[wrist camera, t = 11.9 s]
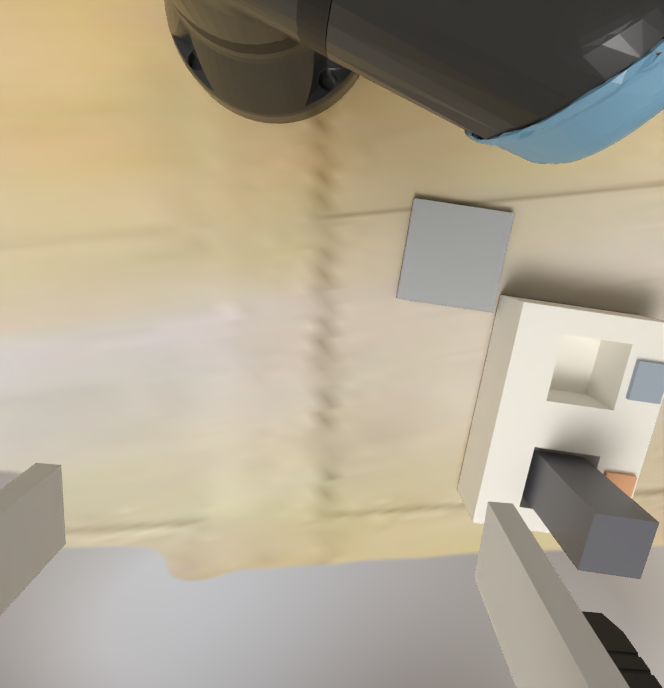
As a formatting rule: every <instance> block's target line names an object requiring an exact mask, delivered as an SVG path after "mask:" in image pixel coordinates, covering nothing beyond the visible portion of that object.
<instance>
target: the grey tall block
mask: <svg viewBox="0 0 664 688" xmlns="http://www.w3.org/2000/svg"><path fill="white" fill-rule="evenodd" d="M523 496H524V497H525V499H526V500H527V501H528V503H529V504H530V506H531V507H532V508H533V510H534V511H535V512H536V514H537V515H538V516H539V518H540V519H541V520H542V522H543V523H544V525H545V526H546V527H547V529H548V530H549V531H550V533H551V534H552V535H553V537H554V538H555V540H556V541H557V542H558V544H559V545H560V546H561V548H562V549H563V550H564V552H565V553H566V554H567V556H568V557H569V559H570V560H571V561H572V563H573V564H574V565H575V567H576V568H577V569H578V570H581V571H588V572H595V573H602V574H609V575H616V576H623V577H630V578H636V579H640V578H641V575H642V572H643V569H644V566H645V564H646V561H647V557H648V555H649V552H650V549H651V546H652V543H653V540H654V537H655V534H656V531H657V528H658V525H659V522H658V521H657V520H656V519H654V518H653V517H652V516H651V515H650V514H649V513H647V512H646V511H645V510H644V509H643V508H642V507H641V506H639V505H638V504H637V503H636V502H635V501H634V500H632V499H631V498H630V497H629V496H628V495H627V494H626V493H624V492H623V491H622V490H621V489H620V488H619V487H617V486H616V485H615V484H614V483H613V482H612V481H611V480H609V479H608V478H607V477H606V476H605V475H604V474H602V473H601V472H600V471H599V470H598V469H597V468H595V467H594V466H593V465H592V464H591V463H590V462H589V461H587V460H586V459H585V458H584V457H580V456H574V455H573V454H572V453H570V452H566V451H559V450H552V449H545V448H538V447H535V448H534V451H533V455H532V459H531V463H530V467H529V471H528V475H527V479H526V483H525V487H524V491H523Z"/></svg>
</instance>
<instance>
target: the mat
mask: <svg viewBox="0 0 664 688" xmlns="http://www.w3.org/2000/svg"><path fill="white" fill-rule="evenodd" d="M514 214H515V213H510V212H504V211H497V210H491V209H484V208H477V207H471V206H464V205H457V204H451V203H444V202H437V201H431V200H424V199H417V198H414V199H413V204H412V210H411V216H410V222H409V227H408V233H407V239H406V245H405V250H404V256H403V262H402V268H401V273H400V279H399V285H398V290H397V296H396V298H397V299H403V300H410V301H417V302H424V303H430V304H437V305H444V306H451V307H458V308H464V309H471V310H478V311H485V312H492V313H493V310H494V305H495V301H496V296H497V292H498V287H499V283H500V278H501V273H502V269H503V264H504V260H505V255H506V251H507V246H508V242H509V237H510V233H511V228H512V223H513V219H514Z"/></svg>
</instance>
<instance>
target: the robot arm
mask: <svg viewBox="0 0 664 688" xmlns="http://www.w3.org/2000/svg"><path fill="white" fill-rule="evenodd" d="M164 1H165V10H166V16H167V21H168V25H169V29H170V32H171V35H172V38H173V40H174V43H175V45H176V48H177V50H178V52H179V54H180V56H181V58H182V60H183V62H184V63H185V65H186V66H187V68H188V69H189V71H190V72H191V73H192V75H193V76H194V77H195V79H196V80H197V81H198V82H199V83H200V84H201V86H202V87H203V88H204V89H205V90H206V91H207V92H208V93H209V94H210V95H211V96H212V97H213V98H214V99H215V100H216V101H217V102H219V103H220V104H221V105H223V106H224V107H226V108H227V109H229V110H230V111H232V112H234V113H236V114H238V115H240V116H242V117H245V118H248V119H251V120H255V121H259V122H264V123H290V122H296V121H300V120H304V119H307V118H310V117H312V116H315V115H317V114H319V113H321V112H322V111H324V110H326V109H327V108H329V107H330V106H332V105H333V104H334V103H336V102H337V101H338V100H339V99H340V98H341V97H342V96H343V95H345V93H346V92H347V91H348V90H349V89H350V88H351V87H352V85H353V84H354V83H355V81H356V80H357V78H358V77H359V75H361V76H362V77H364V78H366V79H368V80H370V81H372V82H374V83H376V84H378V85H380V86H382V87H384V88H386V89H388V90H389V91H391V92H393V93H395V94H397V95H399V96H401V97H403V98H405V99H407V100H409V101H411V102H413V103H414V104H416V105H418V106H420V107H422V108H424V109H426V110H428V111H430V112H432V113H434V114H436V115H438V116H440V117H441V118H443V119H445V120H447V121H449V122H451V123H453V124H455V125H457V126H459V127H461V128H463V129H465V134H466V135H467V136H468V137H469V138H471V139H472V140H474V141H476V142H478V143H482V144H483V143H484V144H488V145H496V146H498V147H500V148H502V149H504V150H507V151H509V152H511V153H513V154H515V155H517V156H520V157H522V158H524V159H526V160H528V161H531V162H534V163H539V164H547V163H550V164H559V163H569V162H573V161H576V160H580V159H582V158H585V157H588V156H590V155H593V154H595V153H597V152H599V151H601V150H603V149H605V148H607V147H609V146H611V145H613V144H614V143H616V142H618V141H619V140H621V139H623V138H624V137H626V136H627V135H629V134H630V133H632V132H633V131H635V130H636V129H637V128H639V127H640V126H642V125H643V124H644V123H646V122H647V121H648V120H650V119H651V118H652V117H654V116H655V115H656V114H658V113H659V112H660V111H662V110H663V109H664V0H164ZM65 544H66V541H65V524H64V506H63V489H62V472H61V465H54V464H42V463H36V464H34V465H33V466H32V467H30V468H29V469H28V470H26V471H25V472H23V473H22V474H21V475H19V476H18V477H17V478H15V479H14V480H13V481H12V482H10V483H9V484H7V485H6V486H5V487H3V488H2V489H0V616H1V614H2V613H3V612H4V611H5V610H6V609H7V608H8V607H9V605H10V604H11V603H12V602H13V601H14V600H15V599H16V598H17V597H18V596H19V595H20V593H21V592H22V591H23V590H24V589H25V588H26V587H27V586H28V584H29V583H30V582H31V581H32V580H33V579H34V578H35V577H36V576H37V575H38V574H39V572H40V571H41V570H42V569H43V568H44V567H45V566H46V565H47V564H48V563H49V561H50V560H51V559H52V558H53V557H54V556H55V555H56V554H57V553H58V551H59V550H60V549H61V548H62V547H63V546H64V545H65ZM475 581H476V584H477V587H478V589H479V592H480V594H481V597H482V600H483V602H484V605H485V608H486V610H487V613H488V615H489V618H490V621H491V623H492V626H493V628H494V631H495V633H496V636H497V639H498V641H499V644H500V647H501V649H502V652H503V655H504V657H505V660H506V662H507V665H508V668H509V670H510V673H511V675H512V678H513V680H514V683H515V686H516V688H662V686H661V685H660V684H659V682H658V681H657V679H656V678H655V676H654V675H651V673H650V669H649V668H648V667H647V665H646V664H645V662H644V661H643V659H642V658H641V657H638V652H637V651H636V650H635V648H634V647H633V645H632V644H631V642H630V641H629V640H628V638H627V637H626V635H625V634H624V633H623V631H621V630H620V629H619V628H618V627H617V626H616V625H615V624H613V623H612V622H611V621H610V620H609V619H608V618H606V617H605V616H604V615H603V614H602V613H593V612H582V611H581V610H580V609H579V607H578V605H577V604H576V602H575V600H574V599H573V597H572V596H571V594H570V593H569V591H568V590H567V588H566V586H565V585H564V583H563V582H562V580H561V578H560V577H559V575H558V574H557V572H556V571H555V569H554V568H553V566H552V564H551V563H550V561H549V560H548V558H547V556H546V555H545V553H544V552H543V550H542V548H541V547H540V545H539V544H538V542H537V541H536V539H535V537H534V536H533V534H532V533H531V531H530V530H529V528H528V526H527V525H526V523H525V522H524V520H523V519H522V517H521V515H520V514H519V512H518V511H517V509H516V508H515V506H514V504H513V503H501V502H489V501H488V504H487V509H486V515H485V521H484V527H483V532H482V538H481V544H480V550H479V555H478V561H477V567H476V572H475Z"/></svg>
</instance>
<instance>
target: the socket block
mask: <svg viewBox="0 0 664 688" xmlns="http://www.w3.org/2000/svg"><path fill="white" fill-rule="evenodd" d="M663 397H664V321H662V320H658V319H654V318H650V317H645V316H640V315H634V314H627V313H620V312H613V311H607V310H600V309H593V308H586V307H579V306H573V305H566V304H559V303H552V302H546V301H539V300H532V299H525V298H519V297H512V296H505V295H500V299H499V303H498V308H497V312H496V317H495V321H494V326H493V330H492V335H491V339H490V344H489V348H488V353H487V357H486V362H485V366H484V371H483V375H482V380H481V384H480V389H479V394H478V398H477V403H476V407H475V412H474V416H473V421H472V425H471V430H470V434H469V439H468V443H467V448H466V452H465V457H464V461H463V466H462V470H461V475H460V479H459V484H458V488H457V491H458V493H459V495H460V497H461V499H462V502H463V504H464V506H465V508H466V510H467V512H468V514H469V516H470V518H471V520H472V522H474V523H481V524H484V521H485V515H486V509H487V504H488V501H489V502H501V503H513V504H514V506H515V508H516V509H517V511H518V512H519V514H520V515H521V517H522V519H523V520H524V522H525V523H526V525H527V526H528V528H529V530H531V531H538V532H545V533H550V531H549V530H548V529H547V527H546V526H545V525H544V523H543V522H542V520H541V519H540V518H539V516H538V515H537V514H536V512H535V511H534V510H533V508H532V507H531V506H530V504H529V503H528V501H527V500H526V499H525V497H524V496H523V491H524V487H525V483H526V479H527V475H528V471H529V467H530V463H531V459H532V455H533V451H534V448H535V447H538V448H545V449H552V450H559V451H566V452H570V453H572V454H573V455H574V456H580V457H584V458H585V459H586V460H587V461H589V462H590V463H591V464H592V465H593V466H594V467H595V468H597V469H598V470H599V471H600V472H601V473H602V474H604V475H605V476H606V477H607V478H608V479H609V480H611V481H612V482H613V483H614V484H615V485H616V486H617V487H619V488H620V489H621V490H622V491H623V492H624V493H626V494H627V495H628V496H629V497H630V498H631V499H632V497H633V494H634V491H635V488H636V484H637V481H638V478H639V475H640V471H641V468H642V465H643V462H644V459H645V455H646V452H647V449H648V446H649V442H650V439H651V436H652V433H653V430H654V426H655V423H656V420H657V417H658V413H659V410H660V407H661V404H662V400H663Z"/></svg>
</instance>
